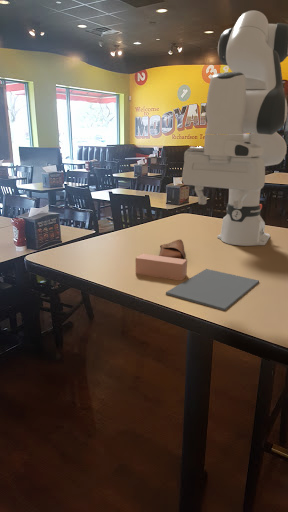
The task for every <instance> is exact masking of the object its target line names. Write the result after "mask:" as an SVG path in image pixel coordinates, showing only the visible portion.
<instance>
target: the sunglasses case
mask: <svg viewBox="0 0 288 512" xmlns="http://www.w3.org/2000/svg"><path fill="white" fill-rule="evenodd" d="M184 245H185V244H184V242H183V240H182V239H176V240H173V241H172V242H169V243H168V242H167V243H163V244H161V245H159V247H160V249H159V250H160V251H159V255H158V256H163V257H171V258H178V259H185V255H186V254H185V246H184Z"/></svg>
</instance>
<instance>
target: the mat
mask: <svg viewBox="0 0 288 512" xmlns="http://www.w3.org/2000/svg"><path fill="white" fill-rule="evenodd" d="M259 283H260V280H258V279H254V278H249V277H245V276H240V275H236V274H232V273H226V272H222V271H217V270H213V269H209V268H205V269H203V270H202V271H200V272H198V273H196V274H195V275H193V276H192V277H190V278H188V279H187V280H185V281H183V282H181V283H179V284H177V285H176V286H174V287H172V288H170V289H169V290H167V291H166V292H165V295H166V296H167V295H168V296H170V297H174V298H177V299H181V300H184V301H187V302H192V303H195V304H198V305H203V306H206V307H209V308H213V309H217V310H221V311H223V312H225V311H227V310H228V309H229V308H230V307H232V305H234V304H235V303H237V302H238V300H240V299H241V298H242V297H244V296H245V295H246V294H247V293H248V292H250V291H251V290H252V289H253V288H254V287H256V285H258V284H259Z"/></svg>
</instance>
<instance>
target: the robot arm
mask: <svg viewBox="0 0 288 512" xmlns="http://www.w3.org/2000/svg"><path fill="white" fill-rule="evenodd" d="M217 54H218V59H219V61H220V62H221V64H223V65H224V66H228V68H229V70H230V71H229V72H227V71H226V72H219V73H218V72H217V73H215V74H214V75H212V76H211V77H210V81H209V86H208V92H207V95H206V96H207V97H206V104H205V116H204V117H205V122H206V129H205V131H204V132H205V133H204V143H203V144H204V146H199V147H198V146H197V147H195V146H190V147H189V148H187V149H186V150H185V151H184V154H183V155H184V156H183V161H184V163H183V167H182V175H181V181H182V183H183V184H184V185H185V186H194V192H195V194H196V196H197V199H198V201H197V203H198V205H207V202H208V201H207V200H208V199H207V198H208V197H207V196H205V195H204V192H203V190H204V187H208V188H216V189H217V188H218V189H228V203H227V204H226V215H225V216H223V218H222V222H221V229H220V234H217V239H219V240H221V241H222V242H223V243H225V244H228V245H233V246H234V245H235V246H241V247H242V246H243V247H244V246H246V247H248V246H249V247H250V246H265V245H266V244H267V243H268V241H269V240H270V238H271V234H270V233H266V232H265V228H266V223H265V221H264V219H263V218H262V216H261V210H262V208H263V204H262V203H260V200H261V199H260V198H261V190H262V189H263V188H264V186H265V182H266V167H269V166H275V165H276V166H277V165H280V163H281V162H283V160H284V159H285V157H286V154H287V143H286V141H285V139H284V137H282V135H280V134H279V133H278V131H279V130H280V129H282V128H283V127H284V125H285V123H286V120H287V117H288V103H287V99H286V95H285V91H284V84H283V82H284V81H283V74H282V73H283V72H282V67H281V66H282V65H281V63H283V62H284V61H285V60H286V59H287V57H288V24H287V23H282V22H277V23H269V21H268V18H267V16H266V15H265V14H264V13H263V12H261V11H258V10H252V9H251V10H248V11H245V12H243V13H242V14H241V16H239V17H238V19H237V20H236V22H235V23H234V26H233V27H230V28H227V29H225V30H224V31H223V32H222V33H221V34H220V37H219V40H218V45H217Z"/></svg>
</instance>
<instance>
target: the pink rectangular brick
mask: <svg viewBox="0 0 288 512" xmlns="http://www.w3.org/2000/svg"><path fill="white" fill-rule="evenodd" d="M187 267H188V259H178V258H171V257H163V256H159V255H157V254H156V255H154V254H147V253H141V254H139V255H137V256H136V257H135V274H136V273H137V274H136V275H143V276H149V277H155V278H161V279H169V280H176V281H183V280H184V279H185V278H186V277H187V276H188V275H187V272H188V270H187V269H188V268H187Z"/></svg>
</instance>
